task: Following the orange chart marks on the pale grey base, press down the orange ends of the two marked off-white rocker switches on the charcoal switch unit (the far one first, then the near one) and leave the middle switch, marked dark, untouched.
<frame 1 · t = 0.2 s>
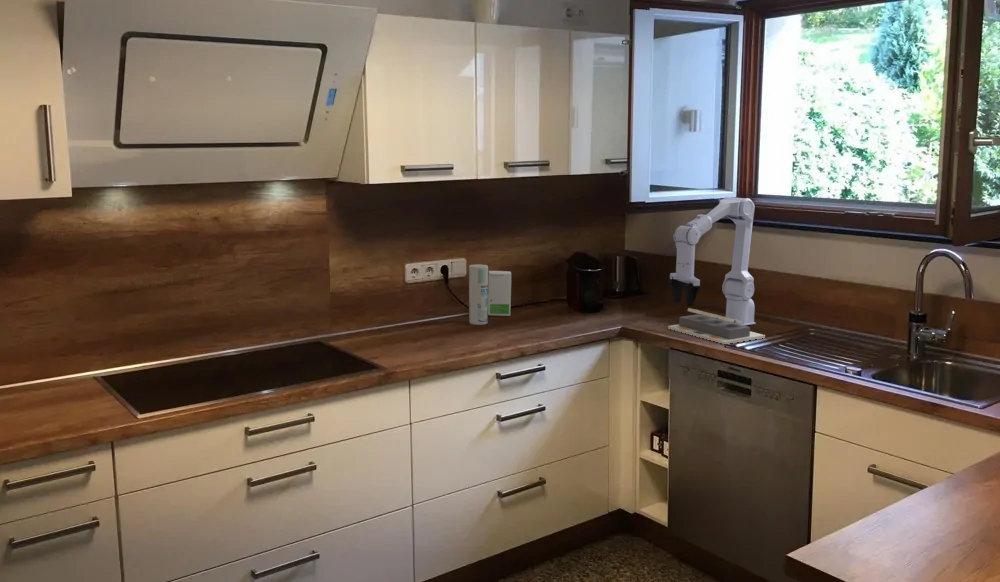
hand: (683, 304, 283), 10 cm above the countertop, fingers open, 7 cm apart
rocker c: (730, 319, 279), point 6 cm above the countertop, hinge at -15.0°
spray can: (478, 323, 300), on the countertop
skincare box: (499, 314, 314), on the countertop
rocker b: (714, 315, 284), point 6 cm above the countertop, hinge at -15.0°
switch unit: (715, 333, 286), on the countertop
rocker a: (699, 312, 290), point 6 cm above the countertop, hinge at -15.0°
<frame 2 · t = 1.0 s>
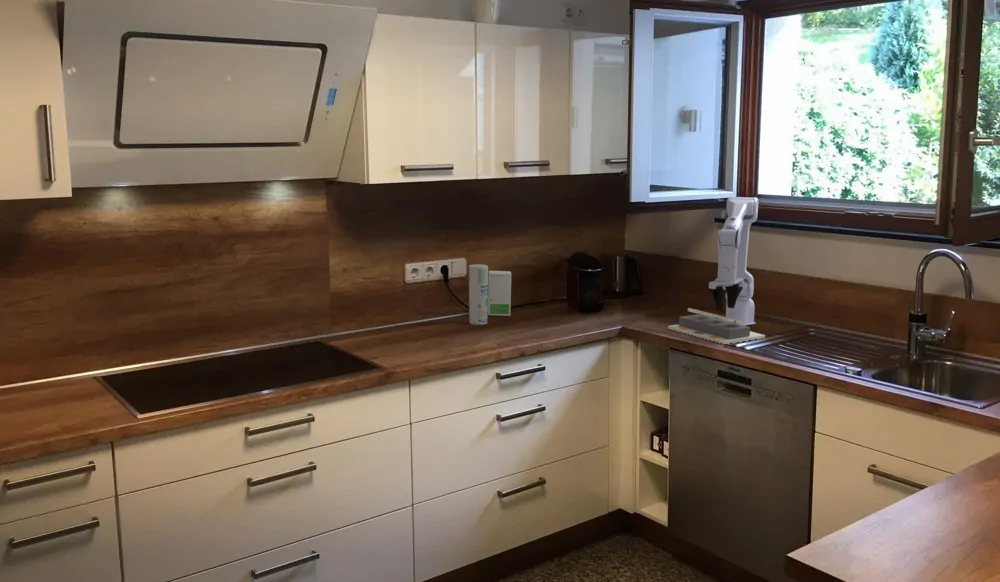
hand: (725, 308, 276), 10 cm above the countertop, fingers open, 5 cm apart
nothing on the countertop moved.
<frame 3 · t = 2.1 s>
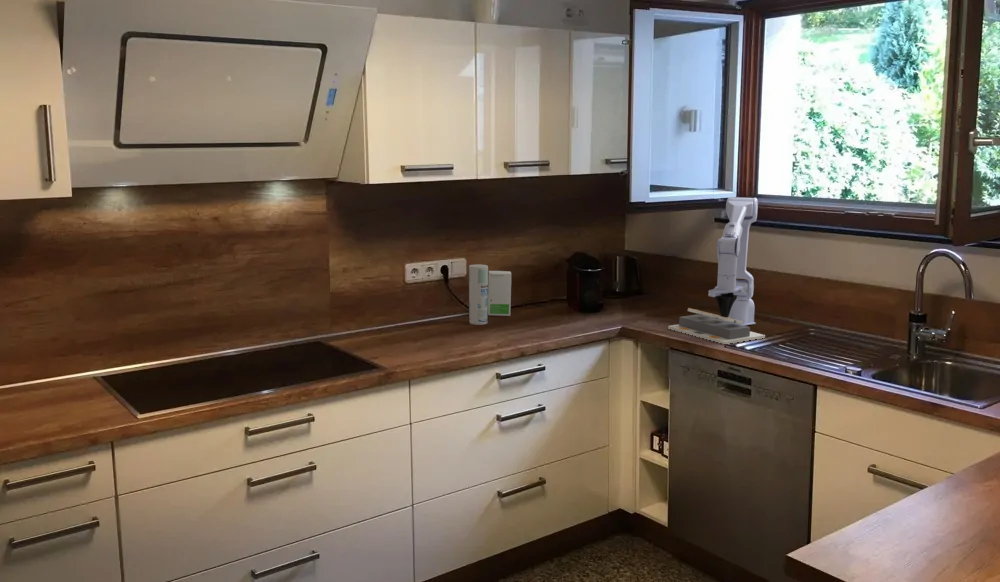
hand: (724, 316, 277), 7 cm above the countertop, fingers closed, pressing on rocker c
rocker c: (730, 319, 279), point 6 cm above the countertop, hinge at -15.0°, touching gripper
everything else where it was.
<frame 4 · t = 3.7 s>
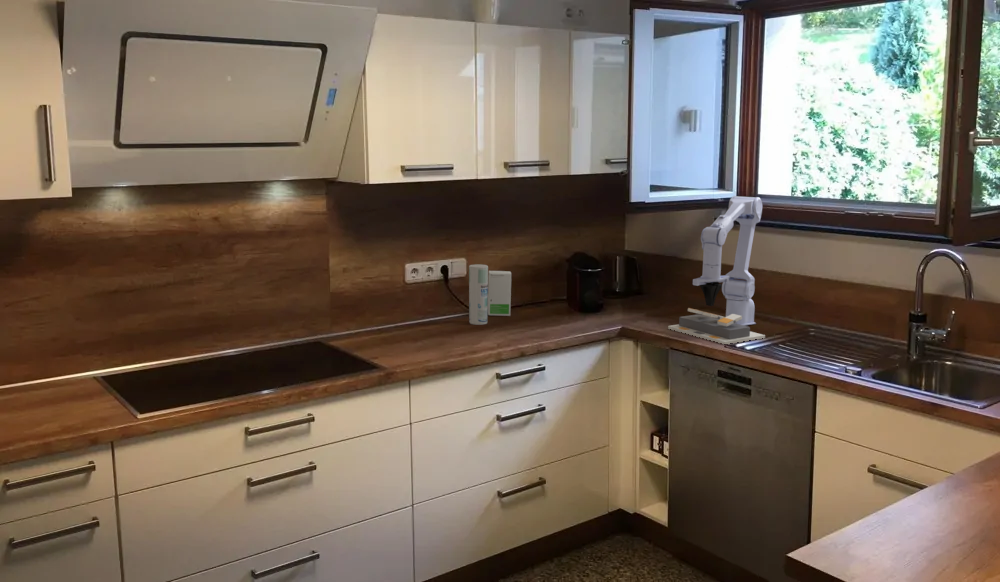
hand: (709, 305, 282), 10 cm above the countertop, fingers closed
rocker c: (729, 320, 278), point 6 cm above the countertop, hinge at 15.0°
everything else where it was.
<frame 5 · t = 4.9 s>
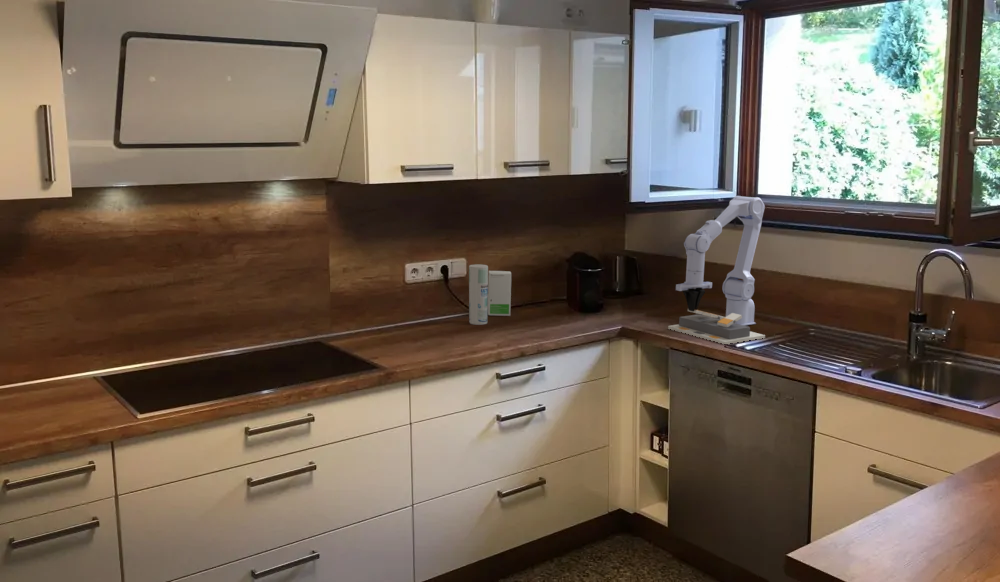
hand: (692, 310, 289), 7 cm above the countertop, fingers closed, pressing on rocker a
rocker c: (729, 320, 278), point 6 cm above the countertop, hinge at 20.4°
rocker a: (699, 312, 290), point 6 cm above the countertop, hinge at -14.8°, touching gripper
everything else where it was.
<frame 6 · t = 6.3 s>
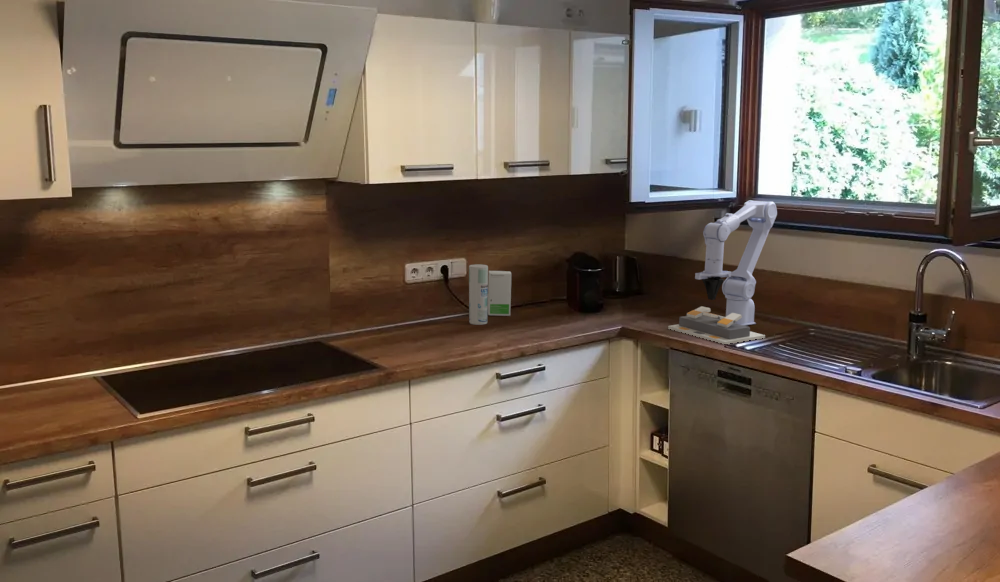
hand: (711, 299, 289), 10 cm above the countertop, fingers closed
rocker c: (729, 320, 278), point 6 cm above the countertop, hinge at 22.5°
rocker a: (698, 312, 290), point 6 cm above the countertop, hinge at 15.3°
everything else where it was.
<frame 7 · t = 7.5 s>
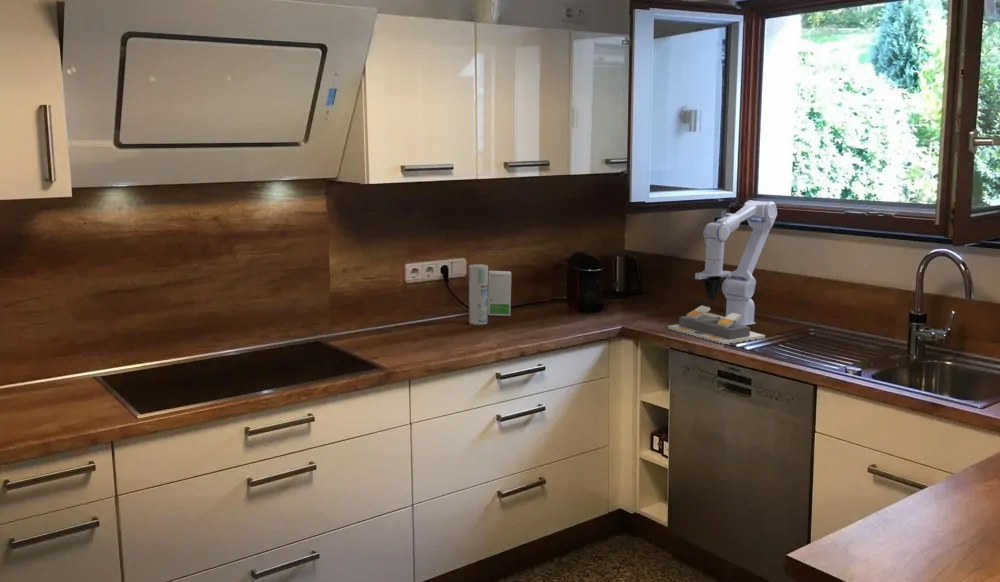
hand: (711, 299, 289), 10 cm above the countertop, fingers closed
rocker c: (729, 320, 278), point 6 cm above the countertop, hinge at 23.0°
rocker a: (698, 312, 290), point 6 cm above the countertop, hinge at 20.9°
everything else where it was.
at the end: rocker c at +23° (first picture: -15°); rocker a at +21° (first picture: -15°); rocker b at -15° (first picture: -15°) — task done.
